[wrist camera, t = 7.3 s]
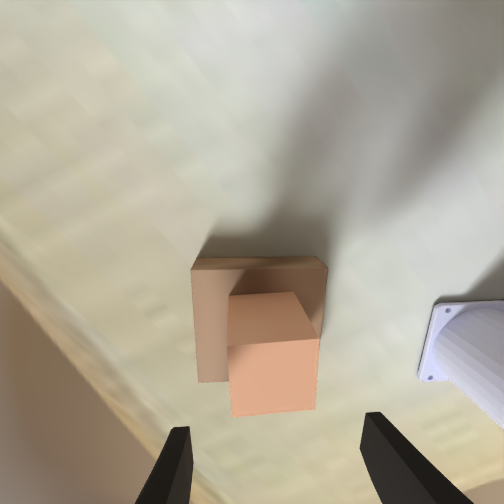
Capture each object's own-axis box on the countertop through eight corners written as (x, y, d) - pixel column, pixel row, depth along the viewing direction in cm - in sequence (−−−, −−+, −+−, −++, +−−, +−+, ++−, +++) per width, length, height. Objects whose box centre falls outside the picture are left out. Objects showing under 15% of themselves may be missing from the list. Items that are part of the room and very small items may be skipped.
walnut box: (313, 254, 19) (328, 268, 16) (305, 350, 21) (315, 377, 18) (197, 255, 18) (190, 270, 15) (203, 354, 20) (198, 382, 18)
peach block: (293, 291, 16) (319, 338, 11) (292, 345, 17) (315, 409, 12) (228, 295, 16) (226, 346, 11) (232, 350, 17) (232, 417, 12)
